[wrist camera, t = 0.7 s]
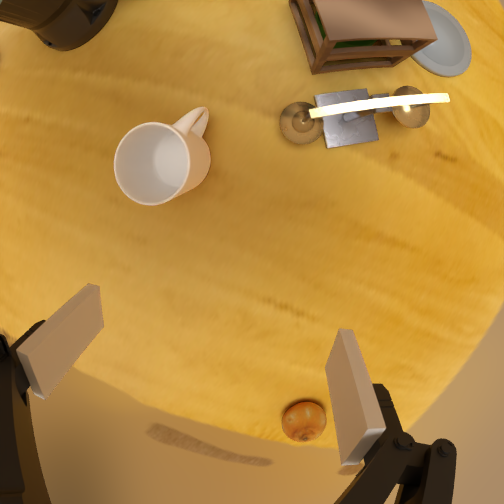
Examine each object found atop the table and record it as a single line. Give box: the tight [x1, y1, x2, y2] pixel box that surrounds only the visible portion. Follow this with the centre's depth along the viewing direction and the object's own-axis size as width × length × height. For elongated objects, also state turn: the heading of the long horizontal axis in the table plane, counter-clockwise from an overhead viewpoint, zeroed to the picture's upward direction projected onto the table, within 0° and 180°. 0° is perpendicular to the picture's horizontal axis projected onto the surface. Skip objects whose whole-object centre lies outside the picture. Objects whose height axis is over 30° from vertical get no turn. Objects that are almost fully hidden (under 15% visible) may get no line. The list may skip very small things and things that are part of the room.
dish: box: [400, 0, 471, 77], centre depth 28 cm, size 13×13×1 cm
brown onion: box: [282, 402, 326, 442], centre depth 48 cm, size 8×8×8 cm
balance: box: [280, 86, 450, 148], centre depth 27 cm, size 7×18×16 cm, turn 104°
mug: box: [114, 107, 211, 206], centre depth 32 cm, size 9×12×11 cm
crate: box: [289, 0, 438, 75], centre depth 24 cm, size 12×12×13 cm
